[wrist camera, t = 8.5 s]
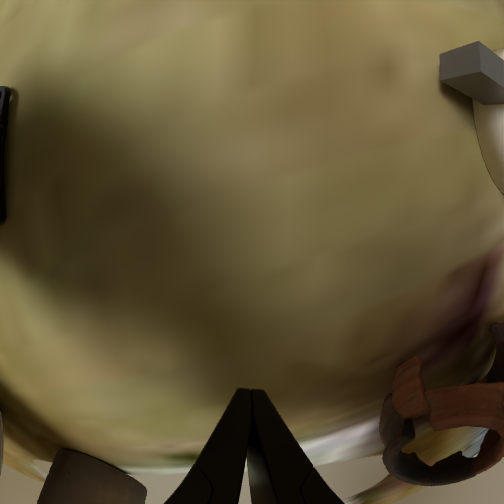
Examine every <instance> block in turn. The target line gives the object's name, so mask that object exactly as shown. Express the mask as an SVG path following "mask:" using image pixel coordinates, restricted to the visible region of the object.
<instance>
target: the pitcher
mask: <svg viewBox="0 0 504 504" xmlns="http://www.w3.org/2000/svg"><path fill="white" fill-rule="evenodd" d="M3 447H4V435H3V422H2V415H1V411H0V474H1V469H2V463H3Z"/></svg>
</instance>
